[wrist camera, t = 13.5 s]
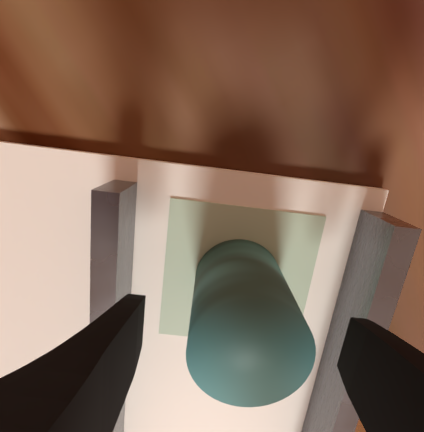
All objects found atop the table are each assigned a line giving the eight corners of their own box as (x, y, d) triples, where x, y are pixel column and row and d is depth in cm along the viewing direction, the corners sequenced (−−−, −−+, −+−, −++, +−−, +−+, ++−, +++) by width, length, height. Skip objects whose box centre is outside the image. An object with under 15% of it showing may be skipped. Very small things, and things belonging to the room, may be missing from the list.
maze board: (-13, 552, 20) (-20, 564, 19) (-67, 132, 13) (-81, 132, 12) (273, 574, 21) (274, 586, 20) (382, 188, 13) (390, 190, 13)
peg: (198, 317, 14) (190, 409, 9) (192, 241, 13) (180, 302, 8) (279, 313, 14) (313, 404, 9) (279, 236, 13) (318, 295, 8)
